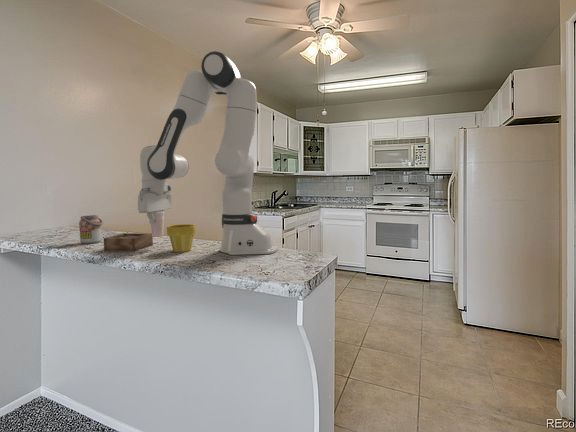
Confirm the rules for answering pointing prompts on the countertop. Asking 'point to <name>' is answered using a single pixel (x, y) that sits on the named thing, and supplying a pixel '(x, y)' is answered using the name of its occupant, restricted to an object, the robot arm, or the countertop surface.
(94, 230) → the decorated jar
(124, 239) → the box
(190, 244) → the plant pot
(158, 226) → the smoothie
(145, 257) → the countertop surface
